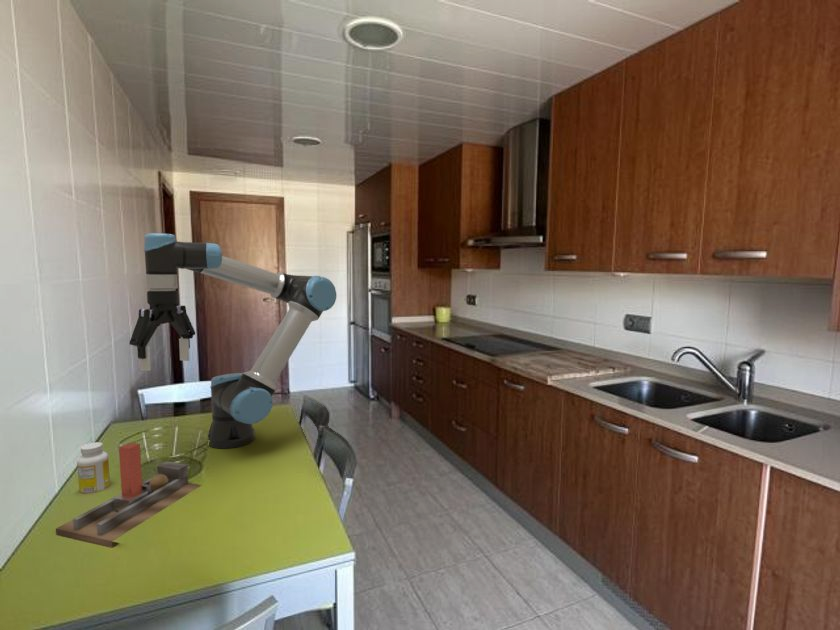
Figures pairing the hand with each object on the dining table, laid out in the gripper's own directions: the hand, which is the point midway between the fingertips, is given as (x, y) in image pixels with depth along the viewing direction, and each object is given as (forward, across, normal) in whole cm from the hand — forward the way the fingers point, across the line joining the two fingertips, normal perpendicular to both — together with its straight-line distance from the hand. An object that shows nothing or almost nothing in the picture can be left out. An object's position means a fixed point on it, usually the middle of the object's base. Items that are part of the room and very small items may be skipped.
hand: (166, 365), depth 127 cm
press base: (+32, +19, +8) cm, 38 cm away
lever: (+30, +20, +8) cm, 37 cm away
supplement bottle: (+32, +15, -10) cm, 37 cm away
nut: (+30, +12, +8) cm, 33 cm away
